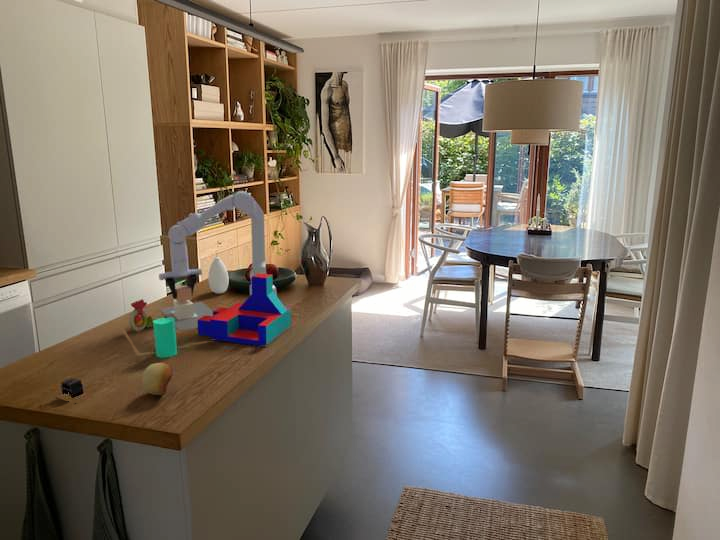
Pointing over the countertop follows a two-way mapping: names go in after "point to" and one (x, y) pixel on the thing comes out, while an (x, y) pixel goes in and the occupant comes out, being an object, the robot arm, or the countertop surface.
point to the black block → (72, 387)
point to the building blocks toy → (249, 316)
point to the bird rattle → (139, 321)
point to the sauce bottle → (218, 276)
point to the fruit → (157, 378)
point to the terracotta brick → (183, 293)
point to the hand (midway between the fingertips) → (182, 296)
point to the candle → (165, 337)
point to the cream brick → (184, 308)
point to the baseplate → (188, 322)
